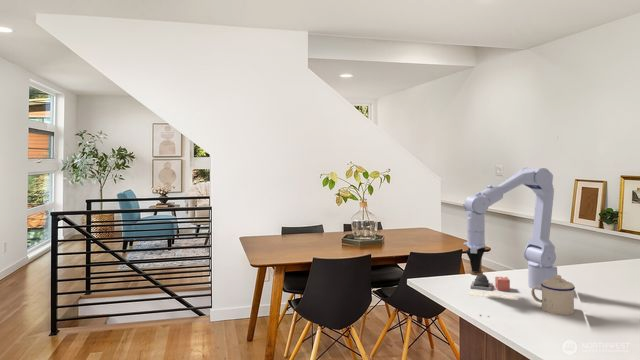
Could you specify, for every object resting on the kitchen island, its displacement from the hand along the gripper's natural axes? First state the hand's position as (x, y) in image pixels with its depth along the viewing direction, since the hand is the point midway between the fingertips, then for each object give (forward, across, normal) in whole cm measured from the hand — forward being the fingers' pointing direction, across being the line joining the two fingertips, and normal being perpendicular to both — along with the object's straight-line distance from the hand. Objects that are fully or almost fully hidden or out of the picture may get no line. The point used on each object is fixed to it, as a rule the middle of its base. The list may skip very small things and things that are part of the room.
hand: (476, 269), depth 149 cm
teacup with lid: (+10, +7, +23) cm, 26 cm away
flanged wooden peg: (+1, 0, 0) cm, 1 cm away
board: (+9, -4, +5) cm, 11 cm away
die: (+9, -9, +8) cm, 15 cm away
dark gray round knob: (+8, -9, +1) cm, 12 cm away
